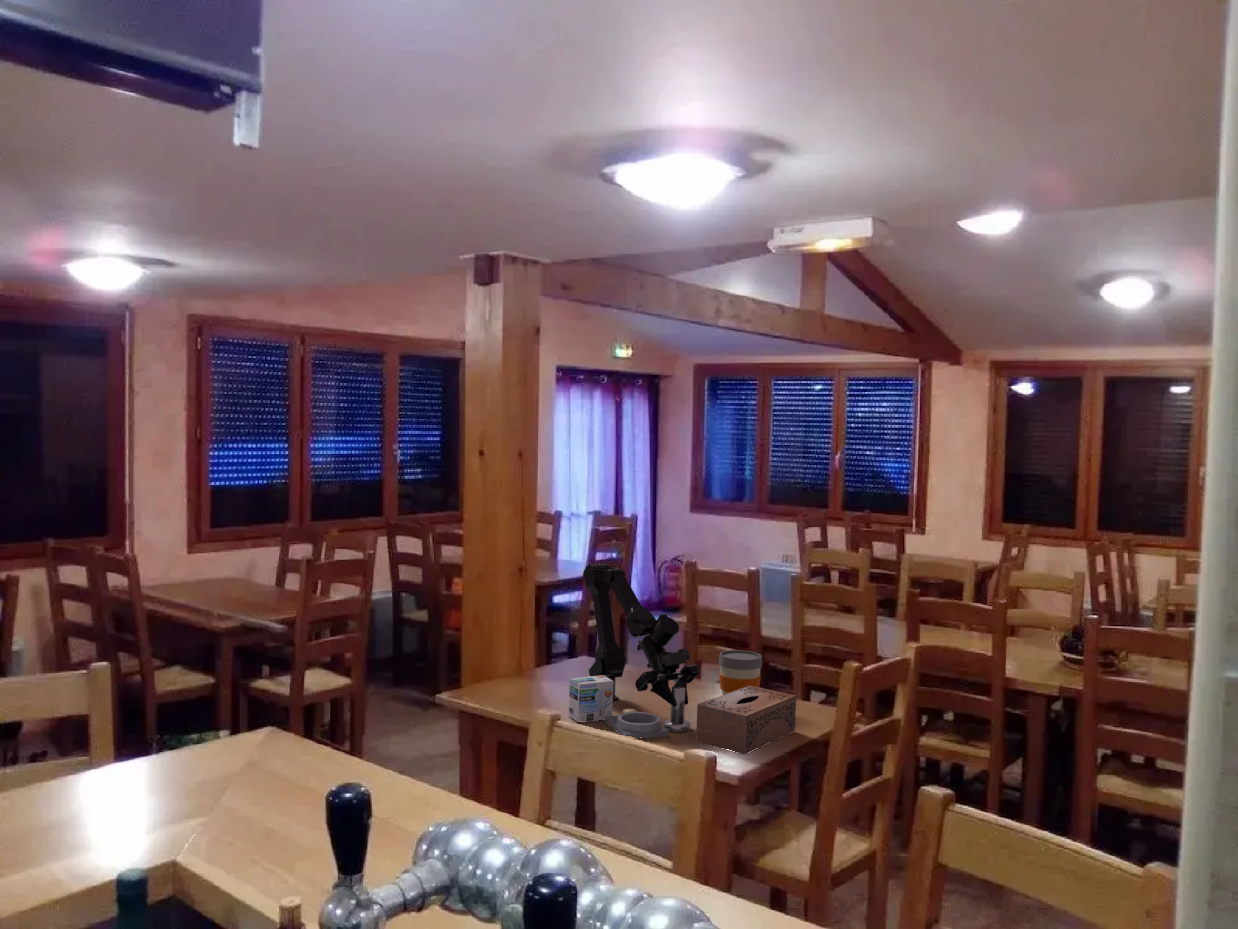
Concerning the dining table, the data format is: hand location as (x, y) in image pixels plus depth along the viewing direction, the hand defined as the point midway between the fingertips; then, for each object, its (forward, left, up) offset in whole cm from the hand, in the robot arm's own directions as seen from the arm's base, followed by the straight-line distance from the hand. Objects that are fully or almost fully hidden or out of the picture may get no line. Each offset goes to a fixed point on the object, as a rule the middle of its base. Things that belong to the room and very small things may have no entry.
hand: (681, 705), depth 267 cm
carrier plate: (-3, -11, -7) cm, 14 cm away
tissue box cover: (+10, +15, -7) cm, 19 cm away
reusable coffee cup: (-16, +26, -7) cm, 31 cm away
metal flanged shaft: (-1, 0, -7) cm, 7 cm away
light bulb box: (-16, -20, -7) cm, 26 cm away
